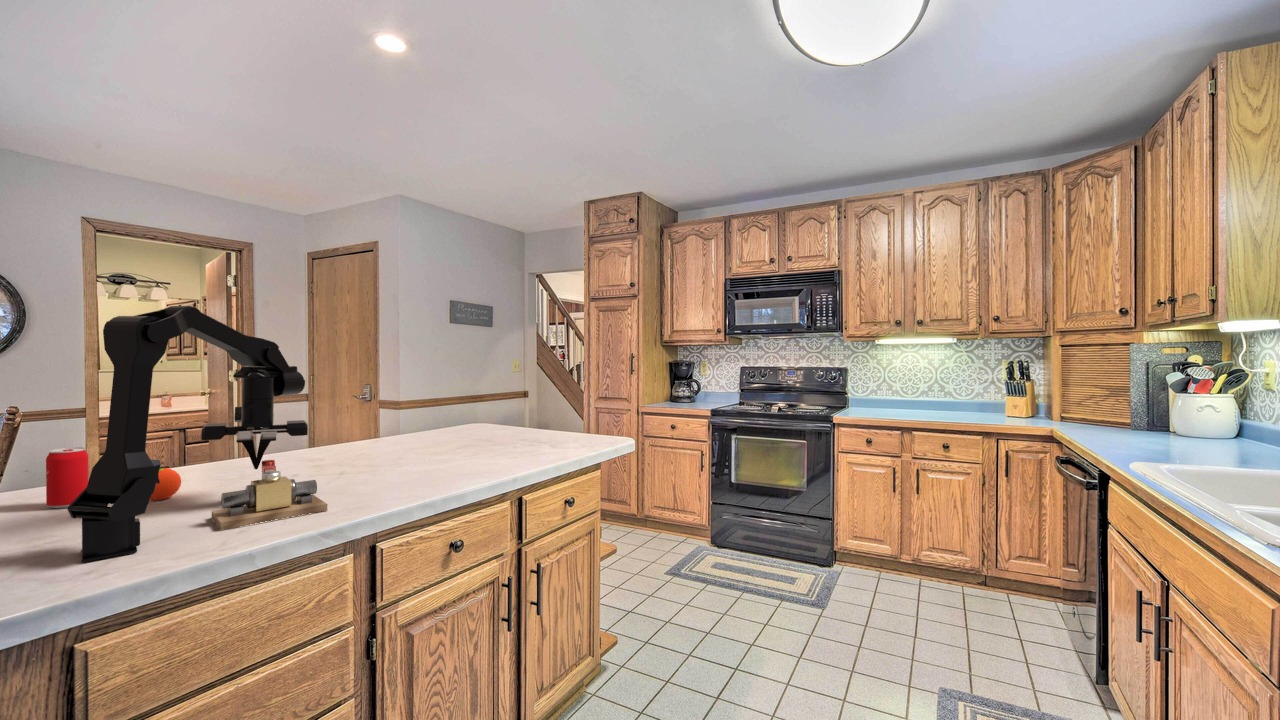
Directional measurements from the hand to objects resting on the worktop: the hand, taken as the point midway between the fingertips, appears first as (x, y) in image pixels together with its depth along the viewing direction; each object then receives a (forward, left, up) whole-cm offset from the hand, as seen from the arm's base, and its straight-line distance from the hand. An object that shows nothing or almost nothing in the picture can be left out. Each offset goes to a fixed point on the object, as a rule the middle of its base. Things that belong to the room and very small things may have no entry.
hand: (256, 468), depth 119 cm
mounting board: (0, -11, -8) cm, 14 cm away
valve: (0, -11, -6) cm, 13 cm away
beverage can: (-29, +25, -8) cm, 39 cm away
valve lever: (+1, -6, -1) cm, 6 cm away
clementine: (-15, +18, -8) cm, 24 cm away
